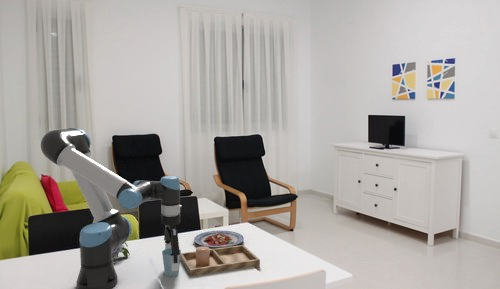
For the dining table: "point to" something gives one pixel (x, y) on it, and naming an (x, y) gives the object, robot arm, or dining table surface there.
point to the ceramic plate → (218, 238)
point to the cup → (169, 262)
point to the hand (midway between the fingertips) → (171, 264)
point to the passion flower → (120, 249)
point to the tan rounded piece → (202, 256)
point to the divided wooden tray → (221, 260)
